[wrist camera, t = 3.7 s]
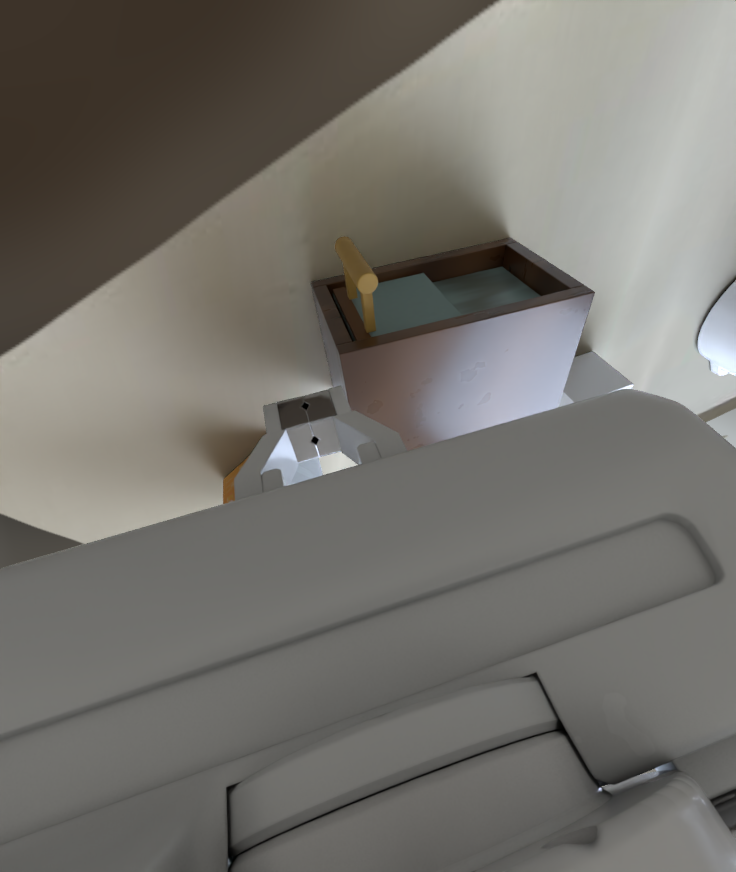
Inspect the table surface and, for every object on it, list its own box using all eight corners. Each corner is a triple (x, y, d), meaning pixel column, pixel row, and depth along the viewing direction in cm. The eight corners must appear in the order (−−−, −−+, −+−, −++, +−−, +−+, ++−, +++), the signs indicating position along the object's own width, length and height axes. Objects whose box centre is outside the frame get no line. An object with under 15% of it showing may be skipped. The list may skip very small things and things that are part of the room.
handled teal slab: (423, 212, 27) (472, 251, 21) (423, 277, 30) (466, 325, 25) (321, 233, 26) (347, 279, 21) (333, 298, 29) (358, 351, 24)
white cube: (581, 392, 46) (617, 426, 42) (533, 409, 46) (565, 445, 42) (592, 350, 42) (634, 384, 38) (540, 368, 42) (575, 404, 38)
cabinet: (511, 237, 31) (595, 291, 24) (494, 346, 38) (556, 413, 31) (310, 281, 29) (339, 354, 22) (333, 388, 36) (360, 467, 29)
